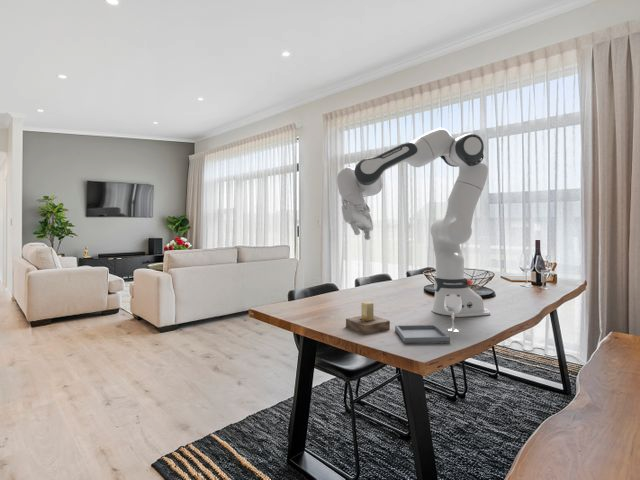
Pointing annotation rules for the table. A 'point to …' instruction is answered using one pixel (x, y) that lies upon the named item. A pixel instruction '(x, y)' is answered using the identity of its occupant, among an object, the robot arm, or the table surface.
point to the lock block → (367, 325)
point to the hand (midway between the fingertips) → (362, 237)
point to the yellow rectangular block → (367, 311)
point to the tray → (421, 334)
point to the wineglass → (453, 308)
